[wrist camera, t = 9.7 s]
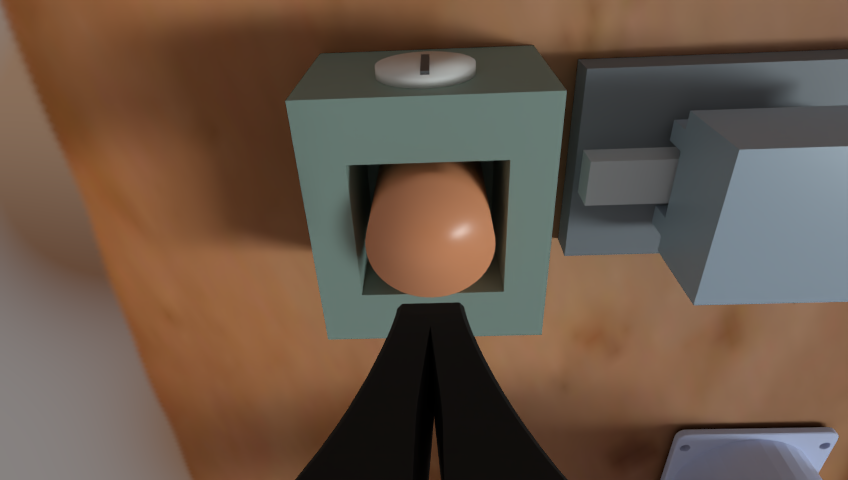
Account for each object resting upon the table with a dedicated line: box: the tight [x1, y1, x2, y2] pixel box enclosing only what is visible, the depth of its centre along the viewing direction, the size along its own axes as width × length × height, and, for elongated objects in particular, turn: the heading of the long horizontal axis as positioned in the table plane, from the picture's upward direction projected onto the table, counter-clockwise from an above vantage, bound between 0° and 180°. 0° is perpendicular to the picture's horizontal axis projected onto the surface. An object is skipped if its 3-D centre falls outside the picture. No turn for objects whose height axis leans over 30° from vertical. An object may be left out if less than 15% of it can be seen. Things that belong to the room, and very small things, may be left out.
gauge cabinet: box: [285, 45, 567, 339], centre depth 17 cm, size 8×7×5 cm
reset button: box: [365, 161, 495, 297], centre depth 17 cm, size 4×4×4 cm
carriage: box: [652, 105, 848, 305], centre depth 16 cm, size 5×5×4 cm
